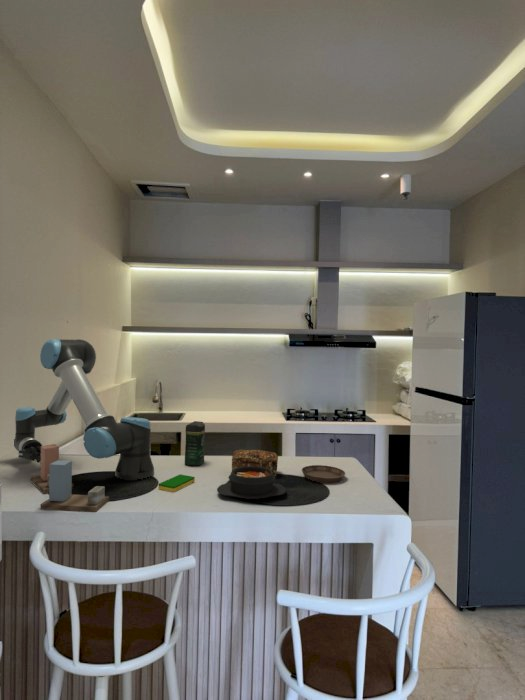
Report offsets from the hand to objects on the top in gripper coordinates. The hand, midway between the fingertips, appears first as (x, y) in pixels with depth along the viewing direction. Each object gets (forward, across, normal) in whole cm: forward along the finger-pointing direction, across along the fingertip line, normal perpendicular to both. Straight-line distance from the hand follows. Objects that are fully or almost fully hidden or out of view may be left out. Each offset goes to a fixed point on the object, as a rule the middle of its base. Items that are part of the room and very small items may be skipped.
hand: (47, 460), depth 175 cm
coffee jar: (+13, -58, -8) cm, 60 cm away
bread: (+40, -70, -8) cm, 81 cm away
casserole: (+59, -53, -8) cm, 80 cm away
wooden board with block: (+31, 0, -8) cm, 32 cm away
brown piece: (+5, 0, -8) cm, 9 cm away
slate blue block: (+28, +3, -6) cm, 28 cm away
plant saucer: (+61, -89, -8) cm, 108 cm away
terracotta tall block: (+3, 0, -6) cm, 7 cm away
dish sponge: (+34, -37, -8) cm, 51 cm away
